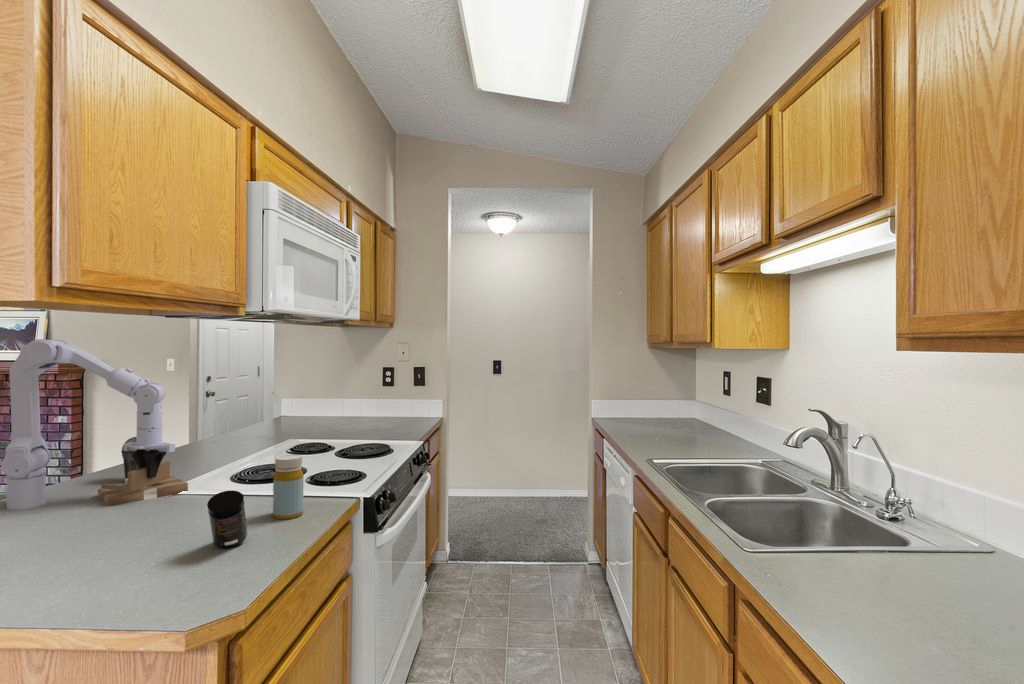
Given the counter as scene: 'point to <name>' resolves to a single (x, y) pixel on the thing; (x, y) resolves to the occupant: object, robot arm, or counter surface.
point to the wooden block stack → (144, 492)
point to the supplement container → (227, 519)
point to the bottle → (288, 487)
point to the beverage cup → (129, 458)
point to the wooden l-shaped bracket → (142, 478)
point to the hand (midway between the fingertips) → (149, 477)
